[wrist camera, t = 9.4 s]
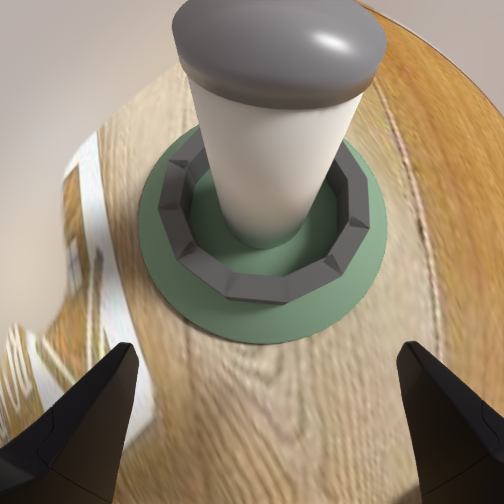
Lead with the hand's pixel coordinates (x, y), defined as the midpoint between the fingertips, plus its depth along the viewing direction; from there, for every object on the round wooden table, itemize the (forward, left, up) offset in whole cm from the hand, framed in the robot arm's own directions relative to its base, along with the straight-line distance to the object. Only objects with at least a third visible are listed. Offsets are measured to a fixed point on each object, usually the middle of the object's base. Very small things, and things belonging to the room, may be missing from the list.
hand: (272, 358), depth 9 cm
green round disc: (+3, +7, -8) cm, 11 cm away
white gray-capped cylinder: (+3, +7, -7) cm, 11 cm away
